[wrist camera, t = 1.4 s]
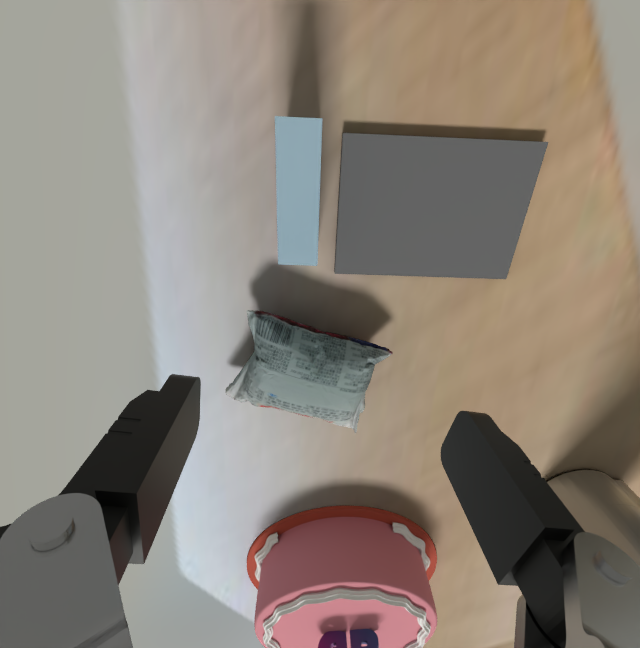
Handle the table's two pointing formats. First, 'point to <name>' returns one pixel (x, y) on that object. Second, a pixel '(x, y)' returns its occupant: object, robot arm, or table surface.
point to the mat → (432, 204)
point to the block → (298, 188)
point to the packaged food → (306, 370)
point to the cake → (343, 580)
